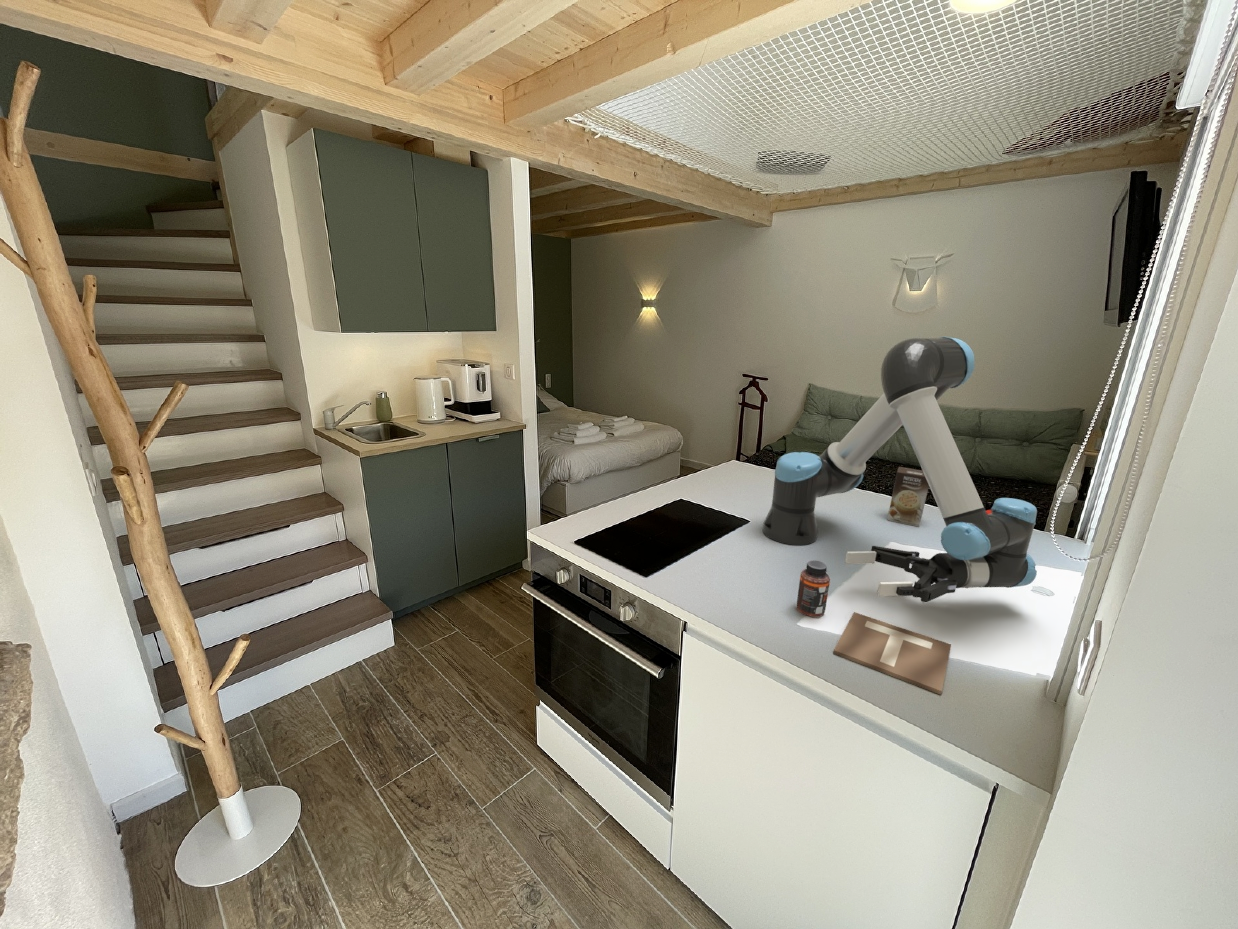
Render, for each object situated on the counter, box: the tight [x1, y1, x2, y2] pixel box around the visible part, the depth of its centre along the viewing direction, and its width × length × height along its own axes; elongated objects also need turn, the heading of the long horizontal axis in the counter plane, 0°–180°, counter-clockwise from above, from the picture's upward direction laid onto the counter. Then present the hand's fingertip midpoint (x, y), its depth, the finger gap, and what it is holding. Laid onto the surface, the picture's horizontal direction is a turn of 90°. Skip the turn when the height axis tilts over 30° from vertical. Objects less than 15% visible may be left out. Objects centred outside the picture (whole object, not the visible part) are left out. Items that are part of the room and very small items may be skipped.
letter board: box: [832, 611, 952, 696], centre depth 100 cm, size 18×16×1 cm
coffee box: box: [886, 466, 930, 528], centre depth 159 cm, size 9×6×16 cm
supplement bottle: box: [796, 560, 831, 618], centre depth 112 cm, size 6×6×11 cm
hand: (861, 572), depth 111 cm, fingers open, 13 cm apart
